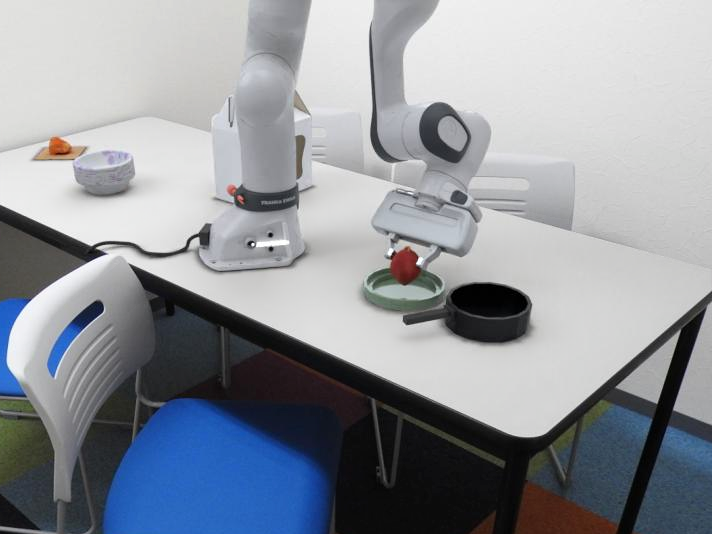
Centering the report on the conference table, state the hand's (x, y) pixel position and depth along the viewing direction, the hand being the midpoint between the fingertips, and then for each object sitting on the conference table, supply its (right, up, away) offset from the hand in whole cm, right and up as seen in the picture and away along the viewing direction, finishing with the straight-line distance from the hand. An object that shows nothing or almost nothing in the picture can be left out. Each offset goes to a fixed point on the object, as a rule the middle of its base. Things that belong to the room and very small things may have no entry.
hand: (404, 263), depth 143 cm
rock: (-88, +48, +84) cm, 131 cm away
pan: (+9, -12, -7) cm, 17 cm away
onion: (+1, -4, +3) cm, 5 cm away
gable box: (-27, +28, +53) cm, 66 cm away
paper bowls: (-68, +30, +57) cm, 94 cm away
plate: (+1, -5, +4) cm, 7 cm away
